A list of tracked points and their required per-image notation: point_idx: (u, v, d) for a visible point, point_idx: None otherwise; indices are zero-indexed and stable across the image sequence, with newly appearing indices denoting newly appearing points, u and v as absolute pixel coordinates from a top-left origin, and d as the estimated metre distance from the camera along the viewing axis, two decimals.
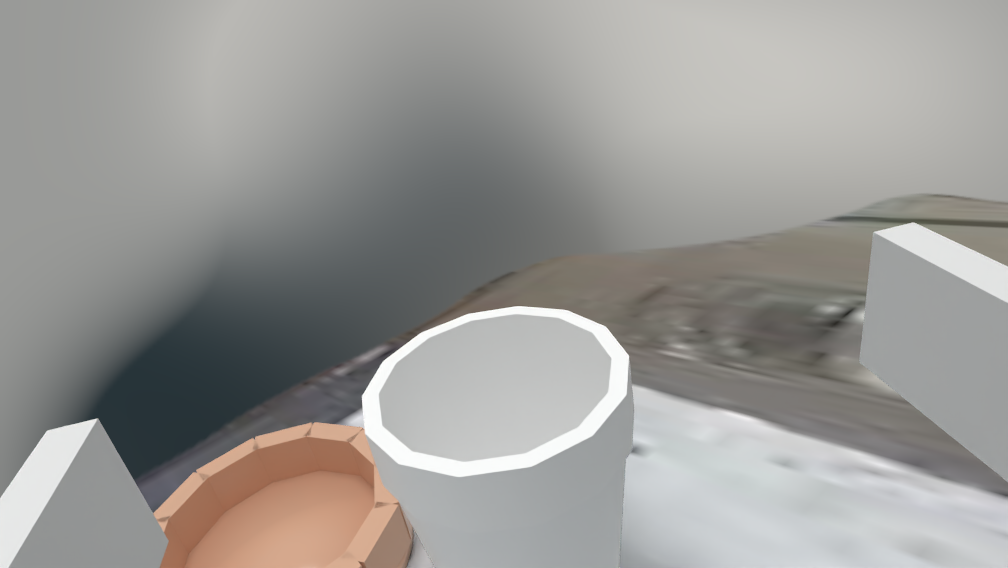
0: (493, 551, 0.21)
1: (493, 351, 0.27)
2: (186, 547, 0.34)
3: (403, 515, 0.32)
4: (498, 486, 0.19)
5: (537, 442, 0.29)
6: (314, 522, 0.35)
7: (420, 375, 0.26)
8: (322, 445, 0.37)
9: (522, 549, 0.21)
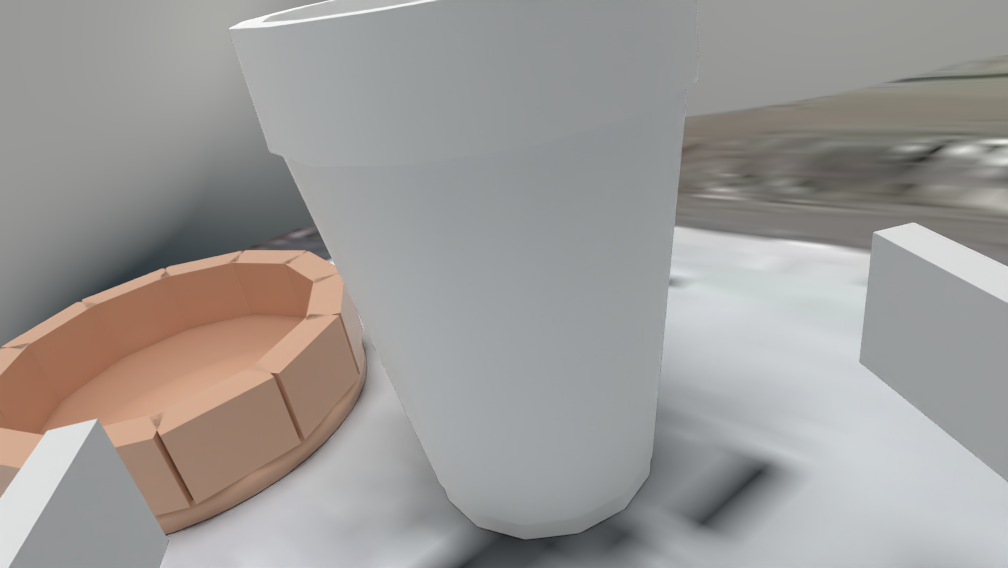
0: (451, 227, 0.11)
1: None
2: (57, 391, 0.25)
3: (347, 335, 0.23)
4: (454, 38, 0.10)
5: None
6: (233, 363, 0.26)
7: None
8: (252, 273, 0.28)
9: (503, 223, 0.11)
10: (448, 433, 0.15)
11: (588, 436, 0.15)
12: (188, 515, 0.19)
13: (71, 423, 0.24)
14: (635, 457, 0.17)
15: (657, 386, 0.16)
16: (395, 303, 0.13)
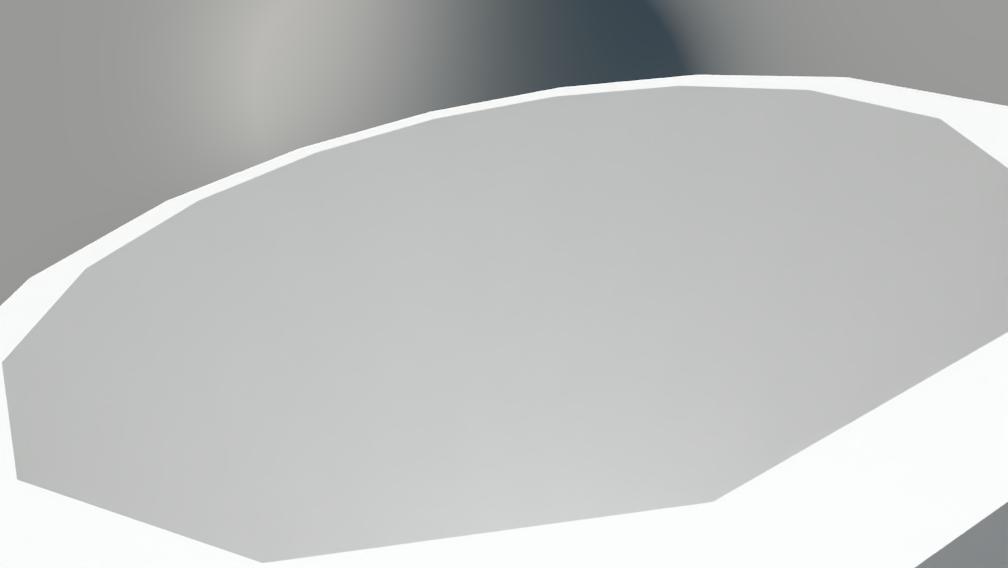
0: None
1: (497, 207, 0.10)
2: None
3: None
4: None
5: (602, 444, 0.12)
6: None
7: (290, 253, 0.09)
8: None
9: None
10: None
11: None
12: None
13: None
14: None
15: None
16: None
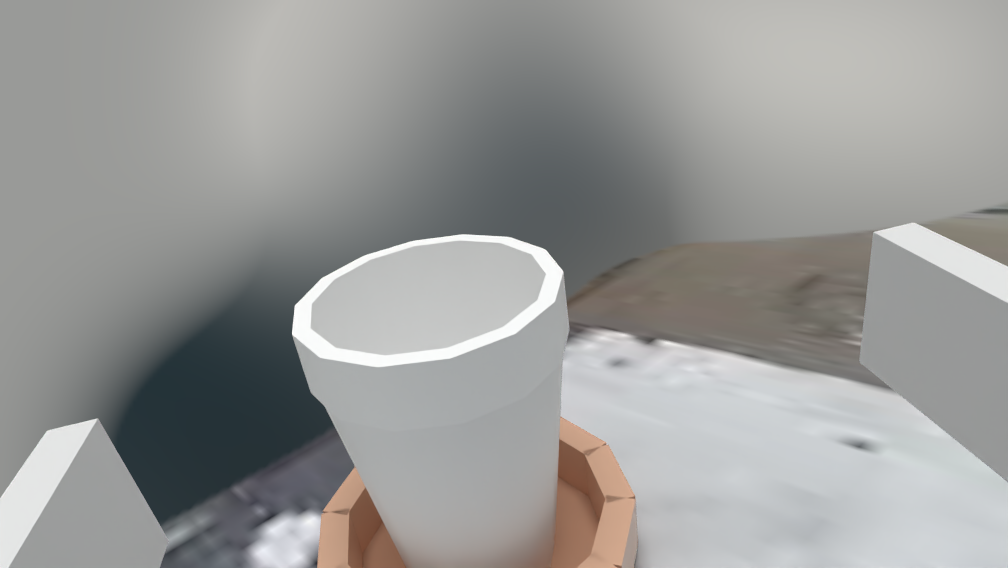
0: (416, 455, 0.21)
1: (437, 279, 0.27)
2: (361, 545, 0.29)
3: None
4: (418, 378, 0.19)
5: None
6: None
7: (360, 296, 0.26)
8: None
9: (445, 454, 0.21)
10: (414, 551, 0.24)
11: (501, 555, 0.24)
12: None
13: None
14: (536, 563, 0.26)
15: (550, 518, 0.26)
16: (383, 483, 0.22)
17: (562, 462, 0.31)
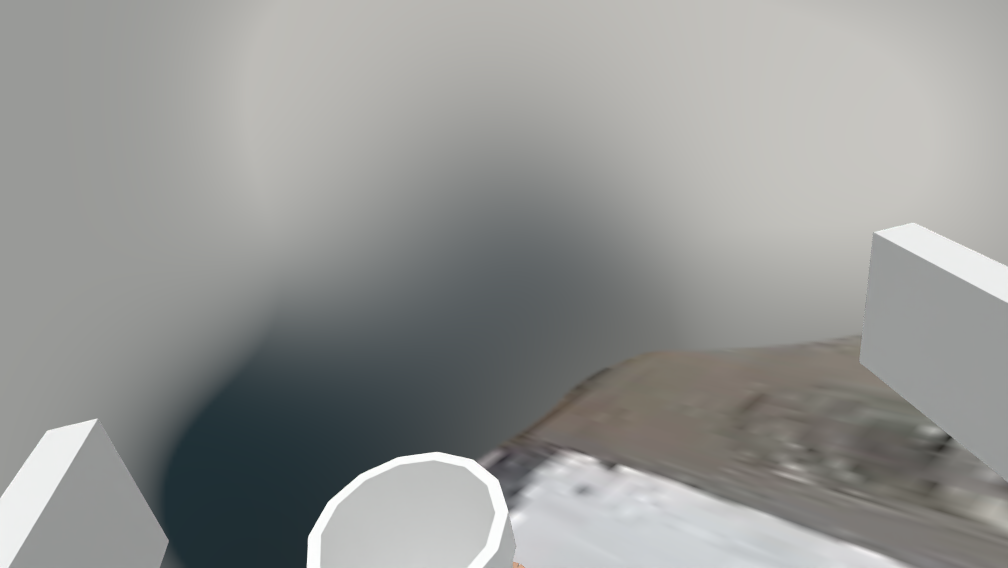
0: None
1: (418, 486, 0.34)
2: None
3: None
4: None
5: (456, 552, 0.36)
6: None
7: (358, 509, 0.33)
8: None
9: None
10: None
11: None
12: None
13: None
14: None
15: None
16: None
17: None
